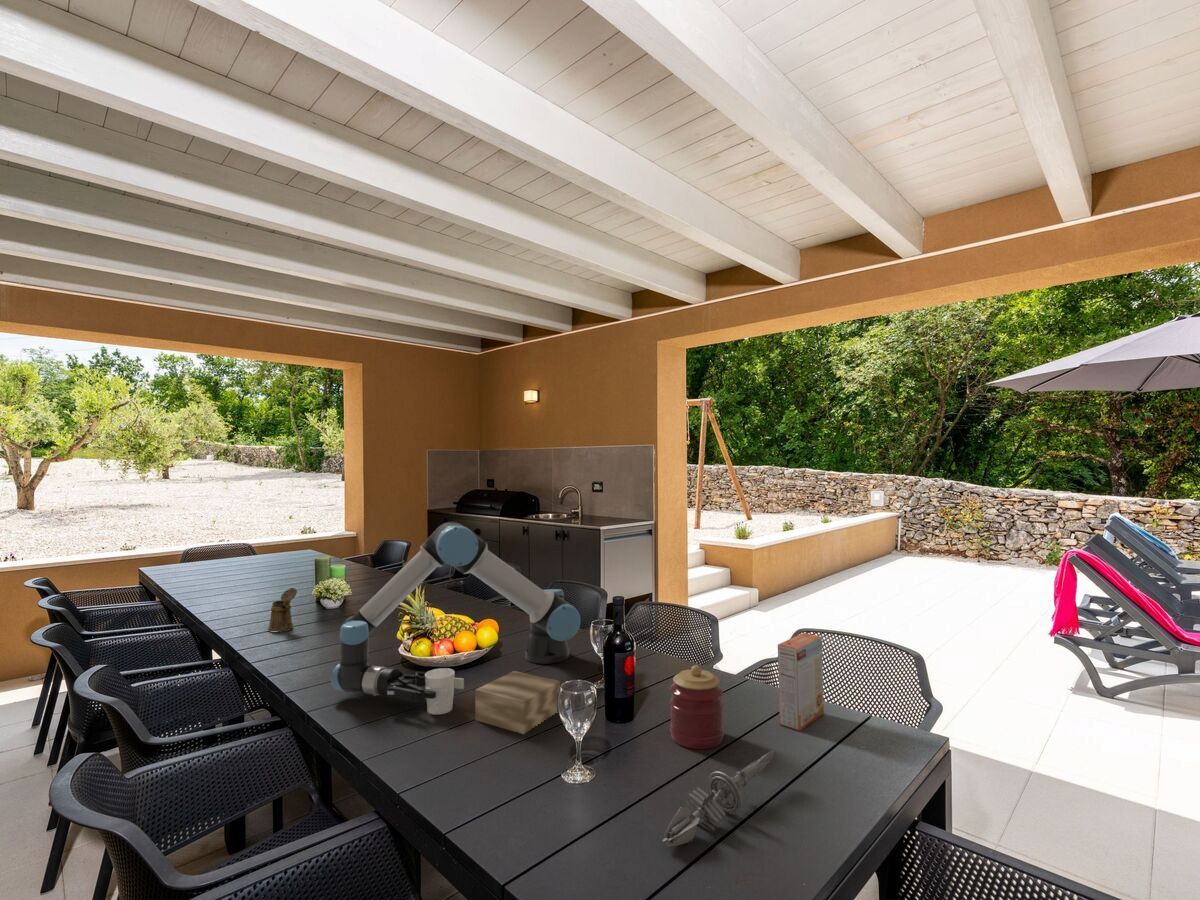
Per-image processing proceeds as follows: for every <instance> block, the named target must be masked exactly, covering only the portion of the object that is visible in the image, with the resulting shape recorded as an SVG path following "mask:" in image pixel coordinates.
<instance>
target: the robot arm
mask: <svg viewBox="0 0 1200 900" xmlns="http://www.w3.org/2000/svg"><path fill="white" fill-rule="evenodd" d="M419 546H420V547H419V548H420V549H419V551H418V552H417V553H416V554H415V555H414V556H413V557H412V558H411V559H410V560H409V561H408V562H407V563H406V564H405V565H404V566H402V568H401V569H400V570H399V571H398V572H397V573H396V574H395V575H394V576H393V577H391V579H390V580H388V582H387V583H385V584H384V586H383V587H382V588H380V589H379V591H377V592H376V594H374V595H373V596H372V597H371V598H370V599H369V600H368V601H367V602H366V603H365V604H364V605H363V606H362V607H361V608H360V609H359V610H358V611H357V612H356V613H354V615H352V616H350V617H348V618H347V619H346V620H345V621H344V622H343V624H342V625H341V627H340V633H339V642H340V643H339V645H340V646H339V649H340V650H339V651H340V663H338V664H336V666H335V667H334V668H333V669H332V671H331V672H332V674H331V676H330V684H331V686H332V687H333V688H334V690H336V691H342V692H345V693H358V694H366V695H372V696H373V697H376V696H380V697H387V698H395V699H400V700H404V701H405V700H406V701H410V702H415V703H417V702H420V703H425V700H426V699H434V700H443V701H448V700H449V693H448V690H447V689H438V688H429V687H427V688H426V687H425V674H426V673H427V672H428V671H418V670H415V671H413V674H410V673H407V674H403V672H402V671H401V670H400V669H399V668H396V667H386V666H377V665H369V635H370V634H372V632H374V630H375V629H376V628H377V627H378V626H379V625H380V624H381V623H382V622H383V621H385V619H386V618H388V616H389V615H390V614H391V613H393V611H394V610H395V609H396V608H397V607H398V606H399V605H400V604H401V603H402V602H404V600H406V599H407V598H408V596H409V595H410V594H411V593H412V592H413V591H414V590H415V589H416V588H417V587H419V586H420V585H421V584H422V583H423V582H424V581H425V579H427V577H429V576H430V575H431V573H433V572H434V571H435V570H436V569H437V568H442V567H443V566H444V565H445V564H447V565H450V566H451V567H452V568H454V569H456V570H457V571H459V572H460V573H461V574H463V575H467V574H471V575H473V576H475V577H476V578H478V579H479V580H480V581H482V582H483V583H484V584H486V585H487V586H488V587H490V588H491V589H493V590H494V591H496V592H497V593H498V594H499V595H501V596H503V597H504V598H505V599H507V600H508V601H509V602H511V603H512V604H514V605H515V606H517V607H518V608H520V609H521V610H522V611H524V612H525V613H526V614H528V615H529V621H530V622H529V629H530V630H529V631H530V633H529V638H528V642H527V644H526V648H525V650H524V651H525V653H524V654H525V660H526V661H528V662H530V663H534V664H542V665H551V664H556V663H557V664H558V663H560V662H564V661H566V660H567V659H568V658H569V657H570V648H569V646H568V642H567V641H568V640H571V639H572V638H573V637H574V636H575V635H576V634H577V632H578V631H579V629H580V626H581V615H580V612H579V611H578V609H577V607H575V606H574V605H573V604H570V603H569V602H568V601H566V600H565V595H564V591H563V589H561V588H559V589H558V588H556V589H555V588H550V589H542V588H540V587H539V586H538V585H537V584H535V583H534V582H533V581H531V580H530V579H528V578H527V577H526V576H524V575H523V574H521V572H519V571H517V570H516V569H515V568H513V567H512V566H511V565H509V564H508V563H507V562H505V561H504V560H502V559H501V558H499V557H498V556H497V555H496V554H494V553H493V552H491V551H490V550H489V547H488V543H487V541H485V540H483V539H482V538H481V537H479V535H477V534H476V533H475V532H474V531H473V530H471V529H470V528H469V527H467V526H465V525H463V524H462V523H460V522H456V521H447V522H445V523H442V524H441V525H439V526H437V528H436V529H435V530H434V531H433V532H432V533H431V534H430V536H428V538H427V539H425V541H424V542H423V543H422V544H421V545H419ZM424 687H425V688H424ZM454 689H458V690H464V689H465V678H463V677H454Z"/></svg>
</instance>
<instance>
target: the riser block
mask: <svg viewBox="0 0 1200 900" xmlns="http://www.w3.org/2000/svg"><path fill="white" fill-rule="evenodd" d="M559 689H560V690H561V681H560V680H556V679H552V678H547V677H545V676H544V677H543V676H538V675H533V674H530V673H525V672H521V671H517V670H512V671H511V672H509V673H506V674H505V675H503V676H501V677H499V678H496V679H494V680H492V681H490V682H488V683H486V684H484V685H482V686H480V687H478V688H476V689H475V690H474V691H475V692H474V694H475V695H474V698H475V701H474V702H475V714H474V715H475V716H474V717H475V721H477V722H480V723H484V724H488V725H490V726H494V727H498V728H501V729H503V730H507V731H511V732H514V733H517V732H518V734H521V735H525V734H526V733H528V732H529V731H531V730H532V728H533V729H534V728H536V727H537V726H538V724H539V725H541V724H542V723H543V722H545V721H547V720H548V719H550V718H551V717H552V715H553V716H555V713H556V714H558V712H557V696H558V692H559ZM549 717H550V718H549ZM547 718H548V719H547ZM544 720H545V721H544ZM541 722H542V723H541ZM535 726H536V727H535Z"/></svg>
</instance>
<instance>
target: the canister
mask: <svg viewBox="0 0 1200 900" xmlns="http://www.w3.org/2000/svg"><path fill="white" fill-rule="evenodd" d="M672 680H673V683H672V684H671V685H670V686H669V691H670V693H671V698H670V700H669V704H670V724H669V725H670V726H669V732H670V737H671V739H672V740H673V742H675V743H676V744H677V745H679V746H682V747H685V748H687V749H694V750H707V749H712V748H716V747H718V746H719V745H721V744H722V742H723V738H724V734H725V733H724V730H725V729H724V721H723V719H724V716H723V715H724V714H723V709H724V703H723V701H722V696H723V695H724V689H723V688H722V687H721V686H720V682H721V681H720V678H718V676H717V675H715V674H713V673H712V672H710V671H708V670H705V669H702V668H701V666H700V665H698V664H694V665H693V666H691V668H689V669H684V670H681V671H680V672H679V673H677V674H675V675H674V676H673V678H672Z"/></svg>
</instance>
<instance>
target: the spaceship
mask: <svg viewBox="0 0 1200 900" xmlns="http://www.w3.org/2000/svg"><path fill="white" fill-rule="evenodd" d="M775 755H776V751H775V750H771V751H769V752H767V753H765V754H764V755H762V756H761V757H760V758H758V759H757V760H755V761H752V762H750V763H749V764H748V765H746V766H745V767H744V768H742V769H741V770H739V771H736V773H735V774H734V776H733V777H731V776H730V775H728V774H726V772H722V771H713V772H711V773H710V774H709V776H708V779H707V788H708V793H709V794H708V793H707V792H705V791H704V790H703V789H701V788H700V787H699V786H697V787H696V790H697V791H696V790H695V789H693V790H692V793H693V794H692V793H691V792H690V793H688V796H690V799H689V801H690V802H691V803H692V804H693V805H692V804H691V803H690V802H689V801H686V802H685V803H686V805H687V806H688V807H685V806H680V807H679V809H678V811H677V812H676V813H675V815H674V816H673V818H672V820H671V822H670V823H669V824H668V827H667V829H666V831H664V834H663V837H664V838H663V839H662V842H666V843H665V845H666V847H667V848H669V847H673V846H674V847H677V846H680V845H683V844H686V843H690V842H689V841H691V840H692V839H693V840H694V837H695V834H696V831H697V826H698V825H699V824H700V822H701V821H702V822H701V823H703V824H704V825H706V826H707V827H708V828H710V829H711V830H712V831H716V828H719V827H720V825H722V824H723V823H724V821H722V820H721V819H722V818H723V816H726V815H727V814H728V813H729V815H737V814H738V813H740V812H741V810H742V806H743V796H742V794H741V788H742V787H746V786H747V785H748V782H749V781H750V780H752V779H753V778H754V777H756V776H757V775H758V774H759V773H760V772H761V771H762V770H763V769H764V768H765V767H766V766H767V765H768V764H769V763H771V761H772V760H773V758H774V756H775ZM718 782H719V785H718ZM699 792H700V793H699ZM694 794H695V795H694ZM703 795H704V796H703ZM731 795H732V796H731ZM730 800H731V801H732V802H730ZM695 801H696V802H695ZM697 803H698V804H697ZM693 806H694V807H695V808H694V807H693ZM716 808H717V809H718V810H717V809H716ZM724 811H725V812H724ZM719 812H720V813H721V814H722V815H723V816H722V815H721V814H720V813H719ZM726 812H727V813H726ZM714 813H715V814H714ZM710 817H711V818H710ZM705 819H706V820H705ZM718 823H719V824H720V825H719V824H718ZM697 824H698V825H697ZM713 825H714V826H715V827H716V828H715V827H714V826H713ZM693 840H692V841H693ZM692 841H691V842H692Z"/></svg>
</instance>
